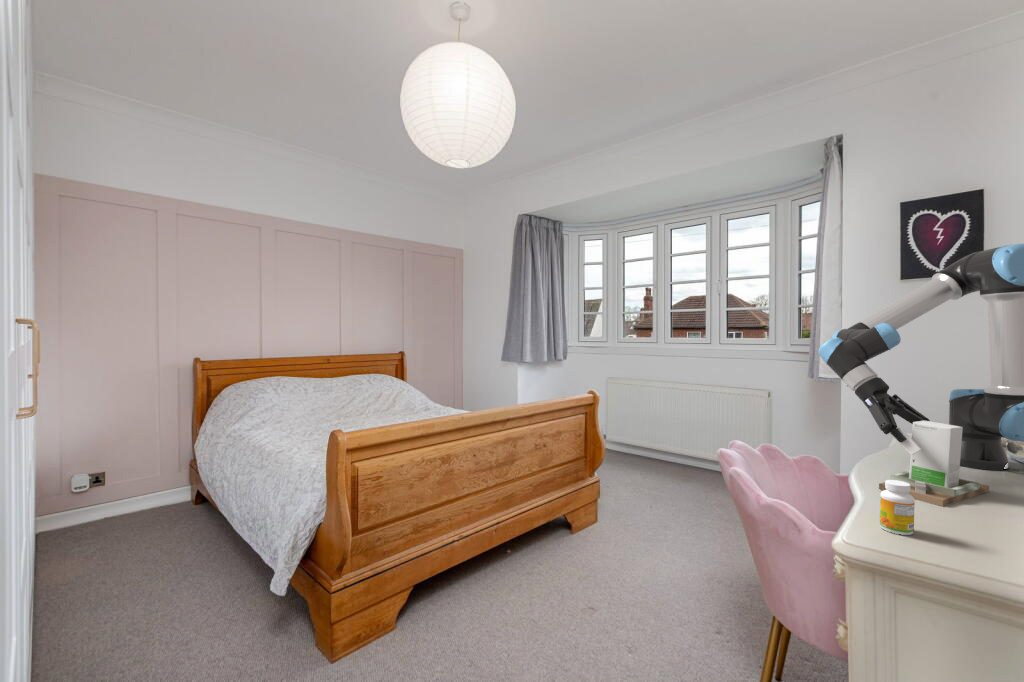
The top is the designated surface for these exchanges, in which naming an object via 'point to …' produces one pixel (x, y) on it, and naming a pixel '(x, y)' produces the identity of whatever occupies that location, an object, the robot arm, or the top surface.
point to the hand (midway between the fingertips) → (929, 449)
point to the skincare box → (936, 453)
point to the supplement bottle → (897, 508)
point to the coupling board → (939, 490)
